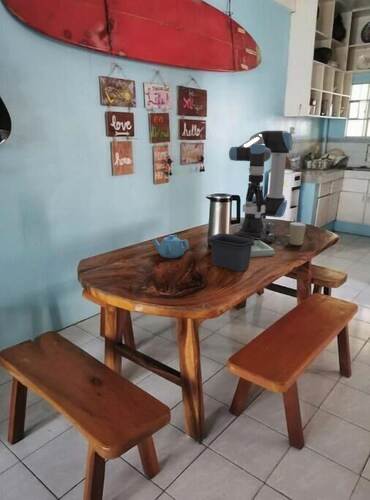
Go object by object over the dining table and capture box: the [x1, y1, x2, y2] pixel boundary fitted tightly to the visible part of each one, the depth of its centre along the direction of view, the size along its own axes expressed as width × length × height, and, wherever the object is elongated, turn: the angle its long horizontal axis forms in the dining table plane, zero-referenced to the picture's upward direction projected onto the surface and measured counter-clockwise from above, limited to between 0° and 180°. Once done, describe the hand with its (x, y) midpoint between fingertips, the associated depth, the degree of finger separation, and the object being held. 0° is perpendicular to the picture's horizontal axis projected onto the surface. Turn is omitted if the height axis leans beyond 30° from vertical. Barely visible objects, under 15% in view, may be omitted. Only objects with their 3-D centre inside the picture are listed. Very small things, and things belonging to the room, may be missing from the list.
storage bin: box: [208, 232, 255, 272], centre depth 180 cm, size 21×16×14 cm
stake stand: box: [260, 222, 275, 245], centre depth 223 cm, size 8×8×12 cm
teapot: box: [152, 234, 190, 259], centre depth 196 cm, size 15×15×11 cm
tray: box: [250, 239, 276, 258], centre depth 205 cm, size 19×19×3 cm
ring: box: [242, 203, 265, 214], centre depth 199 cm, size 11×11×4 cm
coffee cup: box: [288, 221, 307, 246], centre depth 220 cm, size 9×9×12 cm
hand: (253, 215), depth 200 cm, fingers closed on ring, 11 cm apart
